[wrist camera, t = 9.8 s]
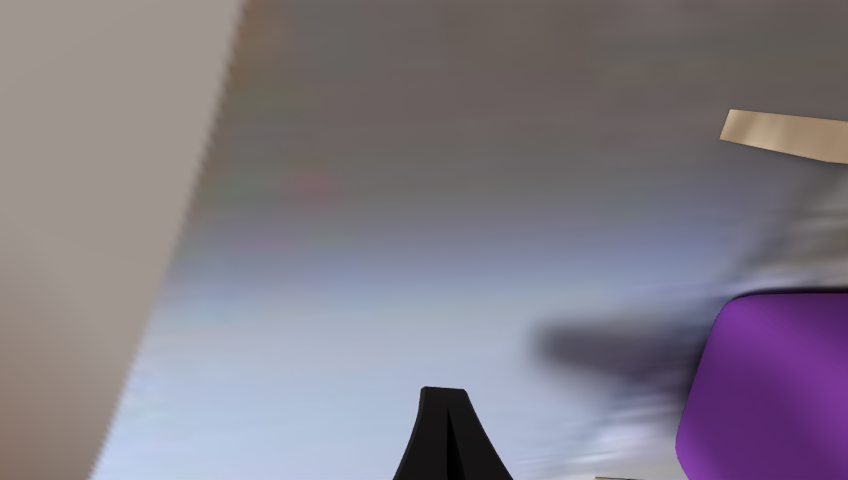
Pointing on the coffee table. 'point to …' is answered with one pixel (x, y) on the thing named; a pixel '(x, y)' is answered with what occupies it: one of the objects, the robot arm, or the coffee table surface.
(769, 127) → the wooden tray
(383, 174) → the coffee table surface
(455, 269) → the coffee table surface
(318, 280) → the coffee table surface
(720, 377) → the toy camera
